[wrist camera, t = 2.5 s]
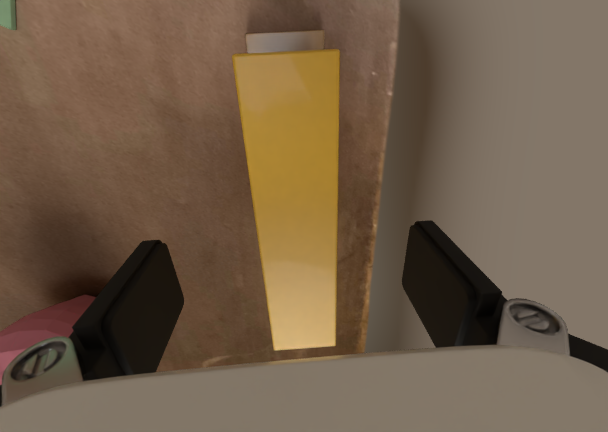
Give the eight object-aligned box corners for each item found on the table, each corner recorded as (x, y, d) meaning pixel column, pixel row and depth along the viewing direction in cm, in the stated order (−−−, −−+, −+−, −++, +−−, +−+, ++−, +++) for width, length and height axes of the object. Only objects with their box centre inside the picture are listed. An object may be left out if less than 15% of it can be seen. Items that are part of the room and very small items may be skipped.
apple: (92, 347, 31) (16, 456, 23) (24, 295, 28) (-99, 403, 19) (162, 317, 30) (111, 422, 21) (101, 258, 26) (7, 356, 17)
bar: (244, 56, 11) (231, 53, 9) (328, 52, 11) (340, 48, 9) (275, 309, 18) (273, 351, 15) (328, 305, 18) (336, 346, 15)
